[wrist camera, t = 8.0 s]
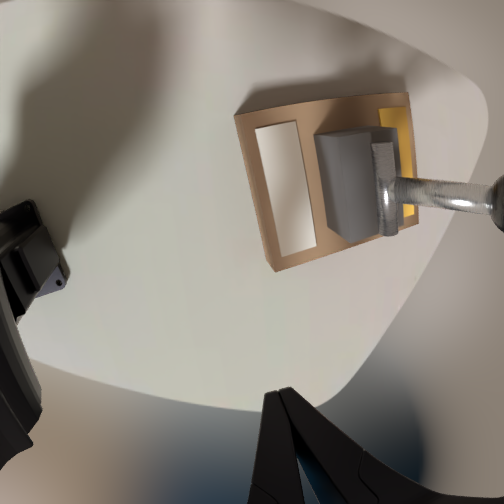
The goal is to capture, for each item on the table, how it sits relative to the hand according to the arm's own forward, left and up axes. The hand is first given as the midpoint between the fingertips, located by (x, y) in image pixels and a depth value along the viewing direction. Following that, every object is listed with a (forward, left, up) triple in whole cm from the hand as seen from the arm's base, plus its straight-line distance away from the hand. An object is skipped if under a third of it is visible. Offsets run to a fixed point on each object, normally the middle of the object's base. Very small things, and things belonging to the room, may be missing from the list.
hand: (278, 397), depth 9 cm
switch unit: (+9, +3, -13) cm, 16 cm away
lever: (+9, +3, -7) cm, 12 cm away
